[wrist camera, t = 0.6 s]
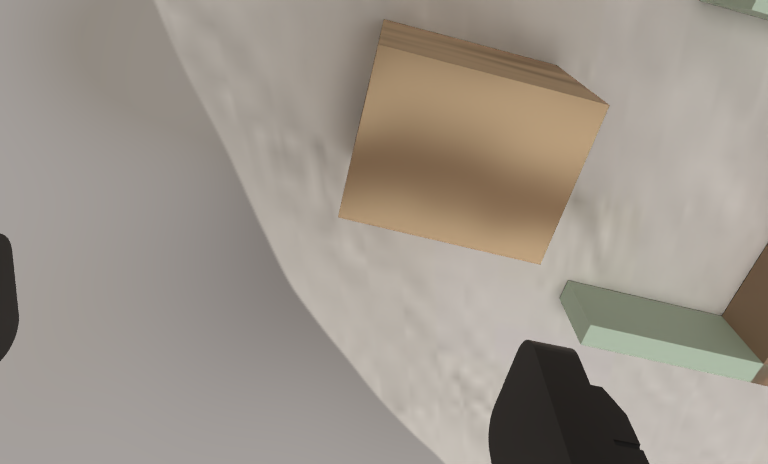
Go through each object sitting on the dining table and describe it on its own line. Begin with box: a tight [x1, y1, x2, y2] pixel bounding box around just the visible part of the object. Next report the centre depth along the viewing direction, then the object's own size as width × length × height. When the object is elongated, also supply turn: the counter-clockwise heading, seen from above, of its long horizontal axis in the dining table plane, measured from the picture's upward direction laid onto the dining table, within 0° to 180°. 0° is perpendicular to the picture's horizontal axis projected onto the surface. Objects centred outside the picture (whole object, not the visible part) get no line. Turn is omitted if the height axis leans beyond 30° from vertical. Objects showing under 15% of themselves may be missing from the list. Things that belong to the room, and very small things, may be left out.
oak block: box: [338, 19, 609, 264], centre depth 29 cm, size 8×10×9 cm
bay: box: [560, 0, 768, 386], centre depth 32 cm, size 21×13×5 cm, turn 166°
